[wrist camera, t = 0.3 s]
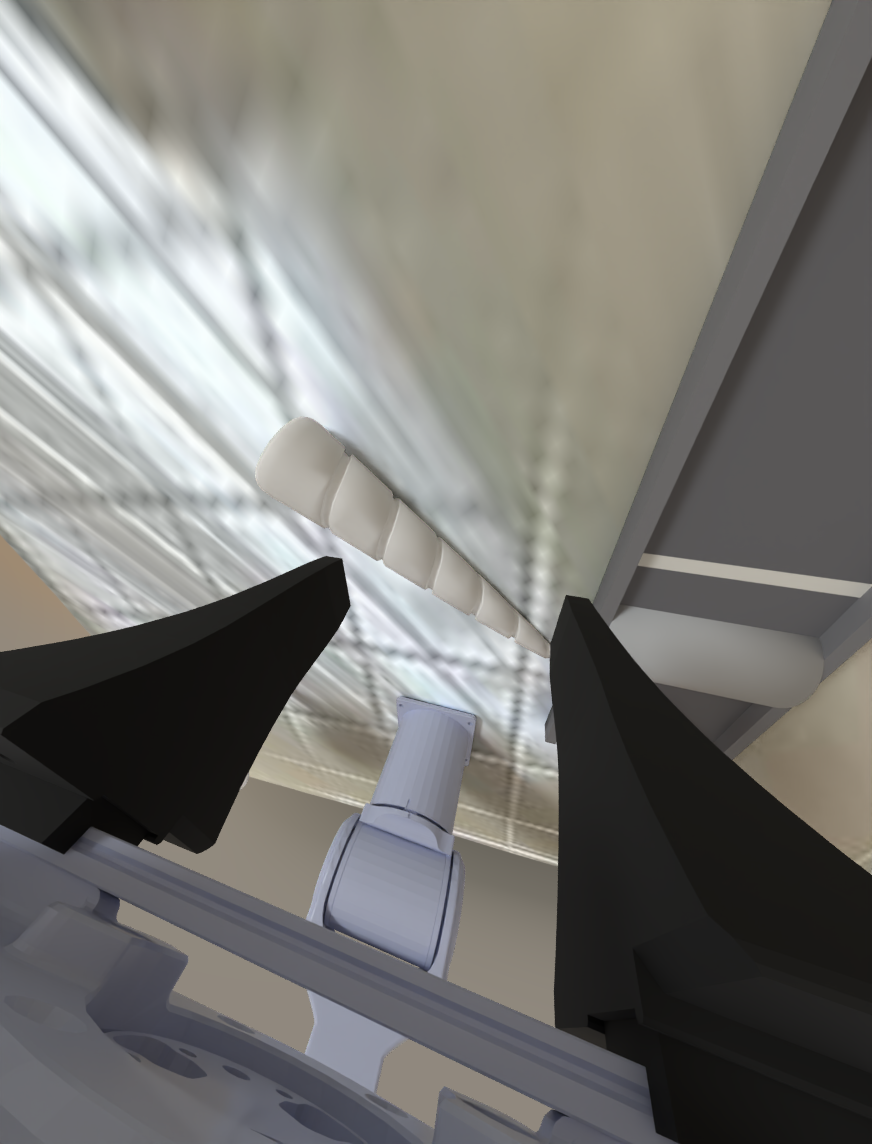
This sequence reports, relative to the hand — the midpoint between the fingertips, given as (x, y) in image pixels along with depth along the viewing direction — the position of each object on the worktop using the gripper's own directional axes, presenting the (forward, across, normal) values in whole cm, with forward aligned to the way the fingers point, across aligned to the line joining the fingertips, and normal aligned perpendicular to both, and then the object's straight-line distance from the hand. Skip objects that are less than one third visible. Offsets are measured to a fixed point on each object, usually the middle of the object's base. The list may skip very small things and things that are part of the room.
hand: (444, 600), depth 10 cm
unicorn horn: (+10, +3, +4) cm, 12 cm away
